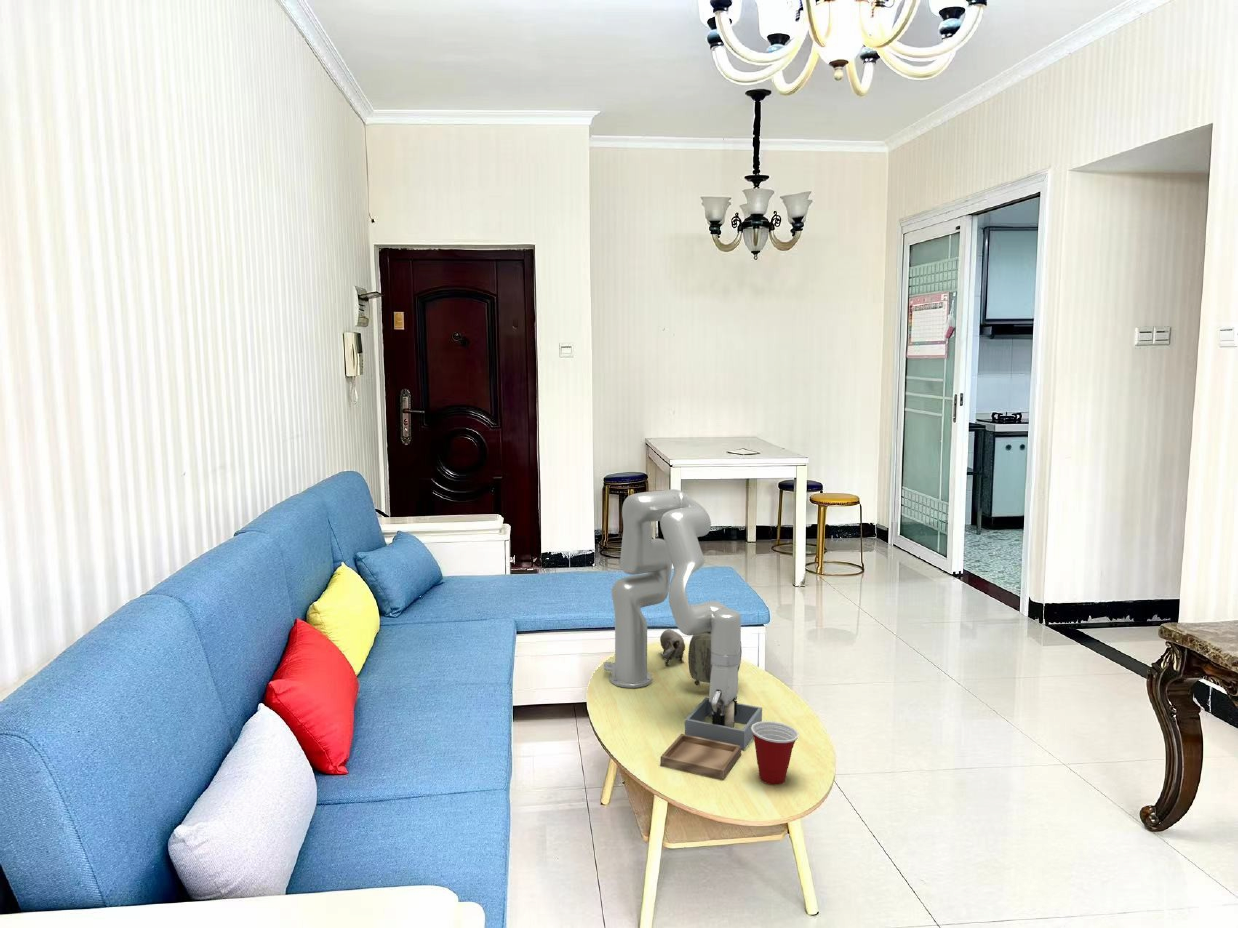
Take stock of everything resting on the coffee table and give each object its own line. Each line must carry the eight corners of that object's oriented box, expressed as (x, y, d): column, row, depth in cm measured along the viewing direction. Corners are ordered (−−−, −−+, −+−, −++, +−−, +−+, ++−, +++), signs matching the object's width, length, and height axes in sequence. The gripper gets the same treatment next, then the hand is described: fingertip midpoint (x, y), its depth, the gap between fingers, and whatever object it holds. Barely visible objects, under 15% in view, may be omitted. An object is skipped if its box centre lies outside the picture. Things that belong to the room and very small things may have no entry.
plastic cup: (806, 786, 193) (807, 736, 192) (762, 793, 190) (763, 742, 188) (783, 764, 203) (785, 716, 202) (742, 770, 200) (743, 722, 199)
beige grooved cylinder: (711, 734, 219) (711, 704, 218) (717, 726, 224) (718, 697, 223) (730, 737, 217) (730, 707, 216) (736, 730, 222) (736, 700, 221)
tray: (660, 765, 203) (660, 756, 202) (681, 742, 215) (681, 733, 214) (723, 780, 196) (723, 770, 196) (741, 754, 208) (741, 746, 208)
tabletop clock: (740, 687, 249) (742, 604, 246) (737, 700, 241) (739, 614, 237) (691, 682, 253) (692, 601, 249) (686, 694, 244) (687, 610, 241)
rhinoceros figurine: (684, 642, 280) (682, 615, 270) (687, 679, 270) (685, 651, 260) (661, 644, 280) (657, 616, 270) (663, 680, 270) (660, 653, 260)
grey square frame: (684, 738, 217) (684, 719, 216) (705, 714, 231) (705, 697, 230) (744, 750, 210) (744, 731, 210) (761, 725, 224) (762, 707, 224)
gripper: (722, 645, 227) (721, 706, 229) (699, 666, 212) (699, 732, 214) (749, 649, 224) (748, 711, 226) (728, 671, 208) (727, 738, 211)
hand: (724, 721), depth 220 cm, fingers open, 9 cm apart
